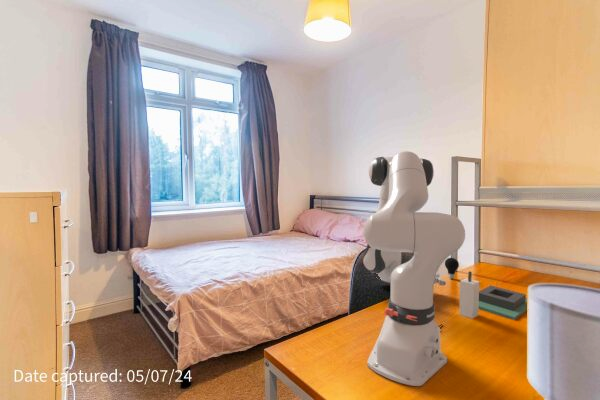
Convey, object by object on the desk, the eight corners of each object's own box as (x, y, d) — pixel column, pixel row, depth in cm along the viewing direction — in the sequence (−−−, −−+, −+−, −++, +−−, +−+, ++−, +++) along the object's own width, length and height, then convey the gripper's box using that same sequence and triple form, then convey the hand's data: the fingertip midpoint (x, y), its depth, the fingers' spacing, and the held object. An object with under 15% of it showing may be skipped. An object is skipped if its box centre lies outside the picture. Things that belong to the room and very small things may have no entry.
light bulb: (460, 281, 140) (461, 259, 139) (448, 281, 140) (448, 259, 139) (454, 276, 146) (455, 256, 145) (442, 276, 146) (442, 256, 145)
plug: (472, 318, 104) (473, 274, 102) (459, 314, 107) (460, 271, 106) (478, 315, 106) (479, 271, 105) (465, 310, 110) (466, 268, 108)
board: (514, 320, 102) (514, 308, 102) (465, 304, 115) (465, 294, 114) (536, 302, 115) (536, 292, 115) (489, 290, 128) (490, 281, 128)
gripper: (390, 274, 119) (423, 284, 108) (419, 264, 132) (451, 272, 121) (390, 290, 120) (422, 301, 109) (419, 279, 132) (451, 288, 121)
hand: (438, 286), depth 115 cm, fingers open, 8 cm apart
